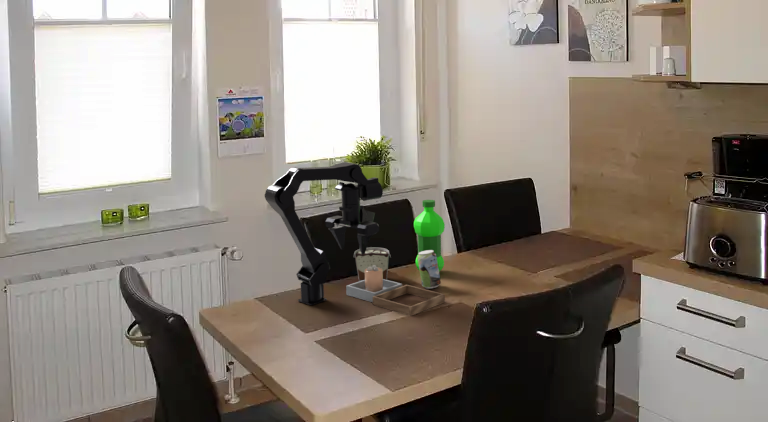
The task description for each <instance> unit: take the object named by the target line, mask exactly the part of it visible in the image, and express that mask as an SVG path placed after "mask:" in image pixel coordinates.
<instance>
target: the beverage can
mask: <svg viewBox="0 0 768 422" xmlns="http://www.w3.org/2000/svg"><path fill="white" fill-rule="evenodd" d="M418 254H419V255H418ZM417 255H418V257H417V256H416V257H417V259H418V264H419V270H420V271H419V270H418V271H419V276H420V281H421V286H422V288H424V289H426V290H429V289H434V288H437V287H439V286H440V285H441V283H442V282H441V277H440V276H441V275H440V271H439V269H438V263H437V257H436V254H435V253H434V251H433V250H425V251H421V252H419V253H418V252H417Z"/></svg>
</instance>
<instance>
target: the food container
mask: <svg viewBox="0 0 768 422" xmlns="http://www.w3.org/2000/svg"><path fill="white" fill-rule="evenodd" d="M353 258H355V265H356V271H357V278H358V282H359V281H362V280H365V269H367V268H368V267H372V266H373V265H376V266H377V268H381V269H383V279H385V280H388V271H389V260H390V259H389V258H392V257H391V254H390V250H388V249H387V248H384V247H372V246H370V247H367V248H366V251H365V254H361V251H360V248H359V249H357V250H355V251H354V253H353Z"/></svg>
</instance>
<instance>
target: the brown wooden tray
mask: <svg viewBox="0 0 768 422" xmlns="http://www.w3.org/2000/svg"><path fill="white" fill-rule="evenodd" d="M406 294H409V295H412V296H415V297H420V298H423V299H425V300H423V301H421V302H418V303H415V304H412V305H407V304H403V303H400V302H396V301H392V299H395V298H398V297H401V296H404V295H406ZM444 303H446V294H444V293H442V292H437V291H434V290H429V289H427V288H423V287H422V288H421V287H418V286H414V285H409V284H405V285H402V286H401V287H399V288H396V289H393V290H390V291H387V292H384V293H382V294H379V295H376V296H373V302H372V305H373V306H377V307H380V308H384V309H387V310H391V311H393V312H397V313H400V314H405V315H408V316H414V315H417V314H420V313H421V312H423V311H426V310H429V309H432V308H433V307H434V308H435V307H436V306H439V305H441V304H444Z"/></svg>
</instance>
